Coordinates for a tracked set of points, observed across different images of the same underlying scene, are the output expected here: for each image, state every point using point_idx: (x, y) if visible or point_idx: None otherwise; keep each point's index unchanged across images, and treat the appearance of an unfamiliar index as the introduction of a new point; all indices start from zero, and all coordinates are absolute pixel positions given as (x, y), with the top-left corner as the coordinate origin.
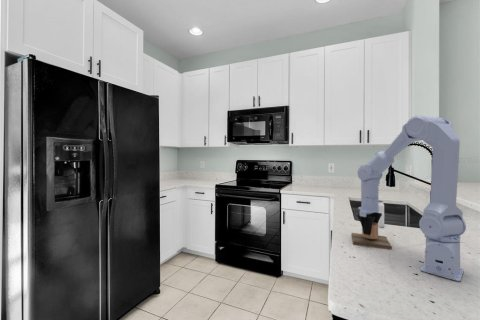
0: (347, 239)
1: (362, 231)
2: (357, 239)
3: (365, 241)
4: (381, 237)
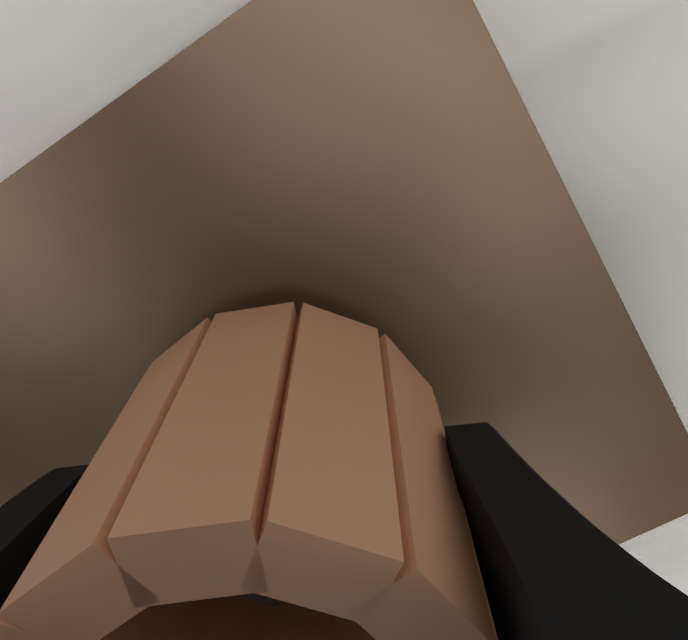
0: (2, 40)
1: (143, 399)
2: (28, 291)
3: (71, 434)
4: (590, 486)
